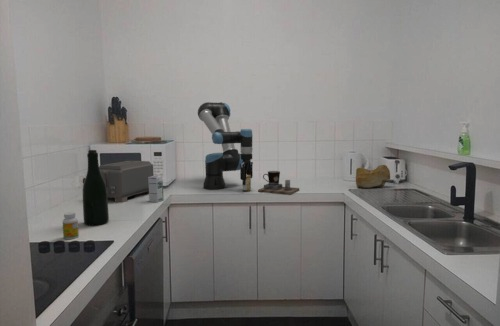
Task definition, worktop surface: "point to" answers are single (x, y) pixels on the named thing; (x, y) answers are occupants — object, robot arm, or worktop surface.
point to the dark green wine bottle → (94, 193)
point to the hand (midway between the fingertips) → (246, 189)
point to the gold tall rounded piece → (248, 182)
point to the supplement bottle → (70, 226)
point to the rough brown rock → (372, 177)
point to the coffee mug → (273, 176)
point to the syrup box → (155, 188)
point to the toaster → (126, 178)
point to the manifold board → (279, 188)
